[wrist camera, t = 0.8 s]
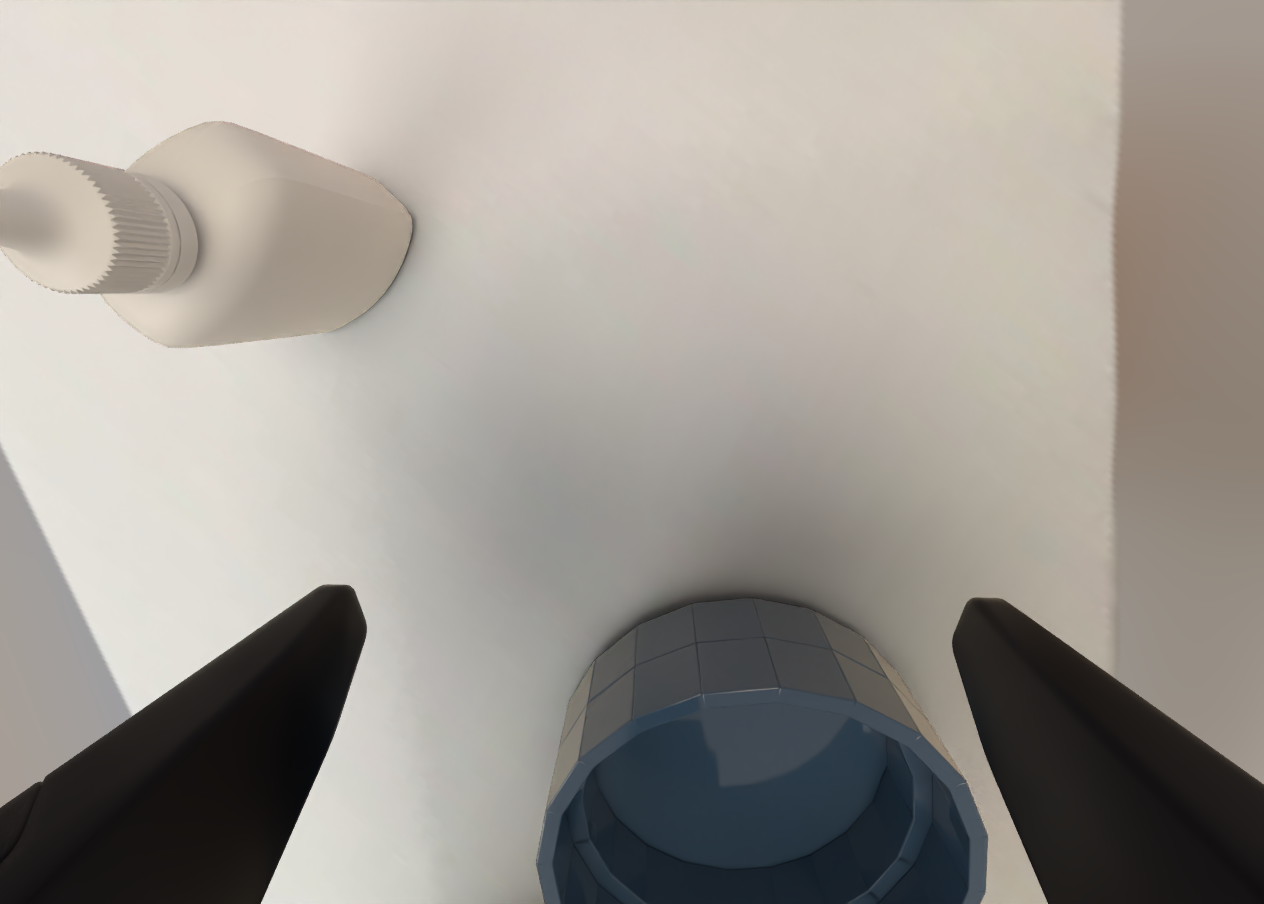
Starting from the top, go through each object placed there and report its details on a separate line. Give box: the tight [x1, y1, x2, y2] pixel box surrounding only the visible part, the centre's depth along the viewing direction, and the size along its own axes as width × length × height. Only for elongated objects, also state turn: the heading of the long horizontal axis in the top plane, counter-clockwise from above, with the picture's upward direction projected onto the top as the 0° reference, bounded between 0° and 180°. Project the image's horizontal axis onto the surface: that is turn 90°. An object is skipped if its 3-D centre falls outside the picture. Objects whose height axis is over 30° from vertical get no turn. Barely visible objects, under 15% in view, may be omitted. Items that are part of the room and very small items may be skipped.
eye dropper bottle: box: [0, 121, 413, 348], centre depth 15 cm, size 4×6×12 cm
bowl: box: [536, 598, 988, 904], centre depth 23 cm, size 15×15×6 cm
